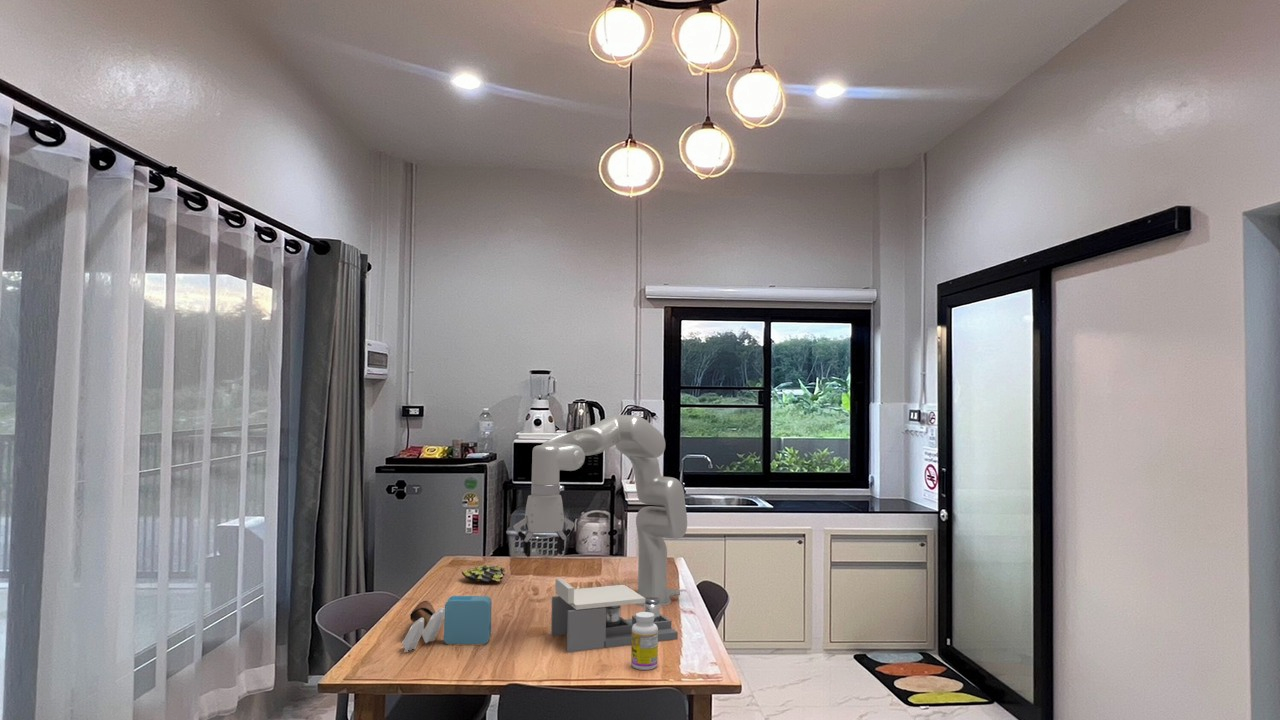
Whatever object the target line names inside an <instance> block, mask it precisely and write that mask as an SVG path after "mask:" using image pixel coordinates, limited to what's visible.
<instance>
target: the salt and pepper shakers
mask: <svg viewBox="0 0 1280 720" xmlns="http://www.w3.org/2000/svg"><path fill="white" fill-rule="evenodd" d="M444 616H445V608H443V607H441V608H439V609H438V610H435V613H434V614H433V615H432V616H431V618H430V620H429V622H428V624H427V626H426V627H425V629H424V618H420V619H418V620H417V621H416V622H415V623H414V622H413V623H412V625H411V626H410V628H409V630H408V632H407V633H406V635H405V637H404V639H403V640H402V642H401V646H403V648H404V650H403V653H405V652H407V653H408V652H409V651H408V650H410V651H413V650H412V649H414V650H415V649H416V648H417V645H418V643H419V641H420V639H421V637H422V639H423V641H424V643H425V644H428V643H429V642H434V641H435V640H436V638H437V635H438V632H439V631H440V629H441V627H442V625H443V624H444Z"/></svg>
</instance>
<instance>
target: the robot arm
mask: <svg viewBox="0 0 1280 720" xmlns="http://www.w3.org/2000/svg"><path fill="white" fill-rule="evenodd" d="M614 446H615V447H616V449H617V450H618V452H619V453H621V454H622V455H624V456H625V457H626V458H627V459H628V460H629V461H630V463H631V464H632V468H633V469H632V470H633V473H634V482H635V483H634V484H635V489H636V496H637V499H638V500H639V502H641V504H645V505H649V506H644V507H642V508H640V509H639V510H638V512H637V514H636V517H635V524H636V525H635V527H636V531H637V532H636V533H637V540H638V557H637V558H638V561H637V563H638V568H637V569H638V570H637V577H638V579H637V593H638V594H639V595H641V596H643V597H644V598H648V597H656V598H659V599H660V608H661V607H666V606H669V605H671V604H672V597H678V596H679V597H680V595H681V590H680V589H673V588H667V585H668V584H667V582H668V580H667V579H668V578H667V577H668V547H667V544H666V542H665V539H672V540H673V539H681V538H683V537H684V536H685V534H686V533H687V528H688V517H687V516H688V515H687V507H686V499H685V491H684V486H683V485H682V483H681V481H680V480H679V479H677V478H675V477H671V476H664V475H662V474H661V469H660V464H659V460H658V458H659V457H660V456H662V455H663V454H664V452H665V450H666V439H665V436H664V435H663V434H662V432H661V431H659V430H658V429H657V428H656V427H655V426H654V425H653V424H651V423H650V422H649V421H647V420H646V419H645V418H643V417H641V416H640V415H635V414H633V415H632V414H614V415H610V416H608V417H606V418H604V419H601V420H600V421H598V422H595V423H594V424H592V425H589V426H588V427H585V428H580V429H577V430H573V431H570V432H566V433H562V434H559V435H556V436H554V437H552V438H550V439H547V440H546V441H545V442H542V444H540V445H536V446H534V447H533V448H532V451H531V452H532V457H531V459H532V461H531V462H532V463H531V492H530V493H531V494H529V495H528V496H527V499H526V500H527V501H526V505H525V513H524V514H525V515H524V518H523V519H521V520H520V521H518V522H516V523H515V524H514V525H513V529H514V531H515V532H516V534H517V536H518V537H519V538H520V539H521V540H522V541H523V543H522V545H523V546H522V547H523V548H522V551H523V554H524V555H525V556H526V557H527V558H531V545H532V543H531V541H530V539H531V538H532V537H533V535H534V534H550V533H551V534H553V533H556V535H558V537H557V539H556V541H557V542H556V553H557V554H559V555H561V556H563V552H564V551H565V540H567V537H568V536H569V535H570V534H571V533H572V531H573V529H574V527H575V522H573V521H572V520H570V519H569V518H567V517H565V515H564V504H563V498H562V495H561V494H560V493H561V492H562V491H563V492H564V491H565V486H564V485H561V484H560V471H567V472H568V471H569V472H572V471H576V470H578V469H580V468H582V466H583V465H584V464H585V460H586V456H587V457H588V456H593V455H594V456H595V455H598V454H601V453H604V452H605V451H607V450H608V449H610V448H612V447H614ZM565 524H567V526H566V528H565V529H564V525H565ZM523 526H524V530H525V533H524V532H523V531H522V529H521V528H522V527H523ZM664 538H665V539H664ZM636 605H637V606H640V607H644V603H638V604H636Z"/></svg>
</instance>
